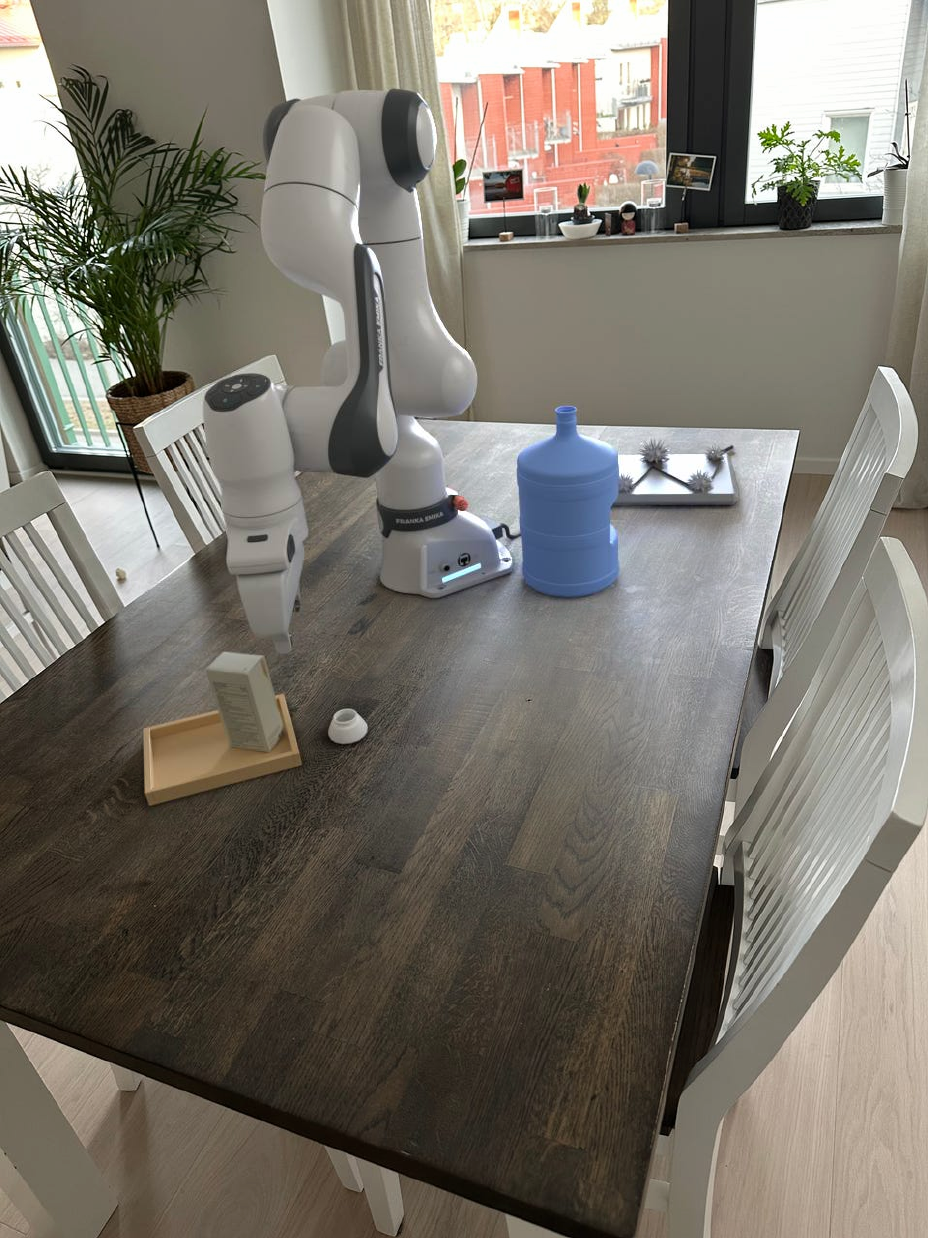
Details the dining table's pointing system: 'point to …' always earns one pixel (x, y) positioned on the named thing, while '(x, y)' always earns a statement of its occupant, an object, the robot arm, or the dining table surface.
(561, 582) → the water jug
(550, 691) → the dining table surface
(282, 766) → the tray
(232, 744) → the cosmetic box
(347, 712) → the white jar
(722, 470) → the spiky wall art
